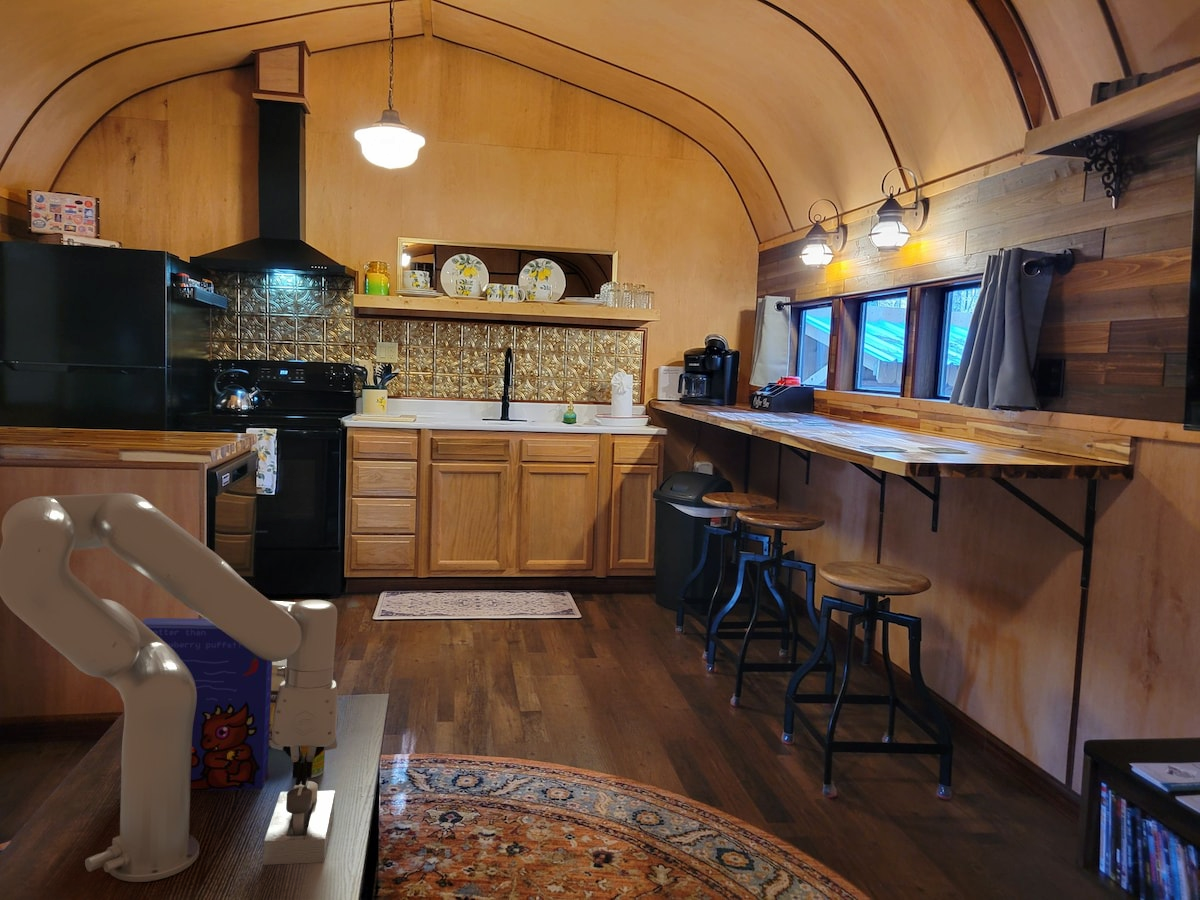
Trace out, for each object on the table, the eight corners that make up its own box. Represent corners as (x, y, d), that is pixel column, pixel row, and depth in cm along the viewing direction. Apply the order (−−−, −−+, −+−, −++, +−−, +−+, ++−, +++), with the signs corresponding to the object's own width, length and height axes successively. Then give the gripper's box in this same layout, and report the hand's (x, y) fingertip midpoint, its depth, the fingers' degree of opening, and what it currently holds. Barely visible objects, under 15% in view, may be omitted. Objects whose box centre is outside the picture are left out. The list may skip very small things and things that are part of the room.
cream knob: (314, 828, 146) (316, 790, 146) (290, 828, 146) (292, 791, 145) (317, 816, 150) (318, 780, 150) (294, 817, 149) (295, 780, 149)
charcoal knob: (308, 837, 137) (310, 797, 137) (283, 838, 137) (285, 798, 136) (311, 825, 141) (313, 786, 141) (287, 826, 140) (288, 787, 140)
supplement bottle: (314, 780, 163) (316, 730, 162) (288, 776, 164) (290, 726, 163) (329, 768, 168) (331, 719, 167) (303, 764, 169) (305, 715, 168)
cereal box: (267, 773, 164) (273, 618, 162) (261, 788, 158) (268, 627, 156) (142, 776, 160) (146, 616, 157) (131, 792, 154) (136, 626, 152)
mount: (323, 862, 137) (324, 839, 136) (263, 864, 135) (264, 841, 134) (334, 811, 152) (334, 790, 152) (279, 813, 150) (280, 791, 150)
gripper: (258, 682, 140) (250, 792, 142) (354, 684, 143) (345, 792, 145) (266, 666, 148) (258, 771, 149) (357, 669, 151) (349, 772, 152)
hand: (301, 781), depth 147 cm, fingers closed
